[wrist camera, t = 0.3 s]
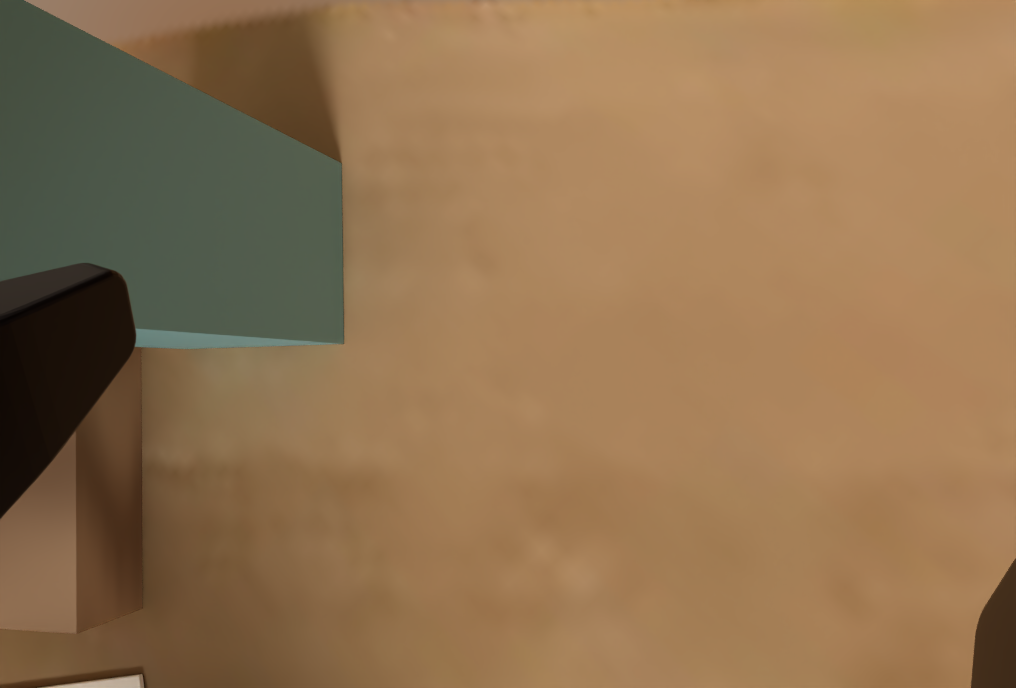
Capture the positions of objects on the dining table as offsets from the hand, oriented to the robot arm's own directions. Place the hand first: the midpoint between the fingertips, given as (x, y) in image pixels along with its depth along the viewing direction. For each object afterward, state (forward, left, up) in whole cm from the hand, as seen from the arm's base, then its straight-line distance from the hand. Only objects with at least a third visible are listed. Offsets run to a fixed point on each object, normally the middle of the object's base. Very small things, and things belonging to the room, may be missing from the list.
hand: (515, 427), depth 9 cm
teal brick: (+4, +11, -14) cm, 18 cm away
